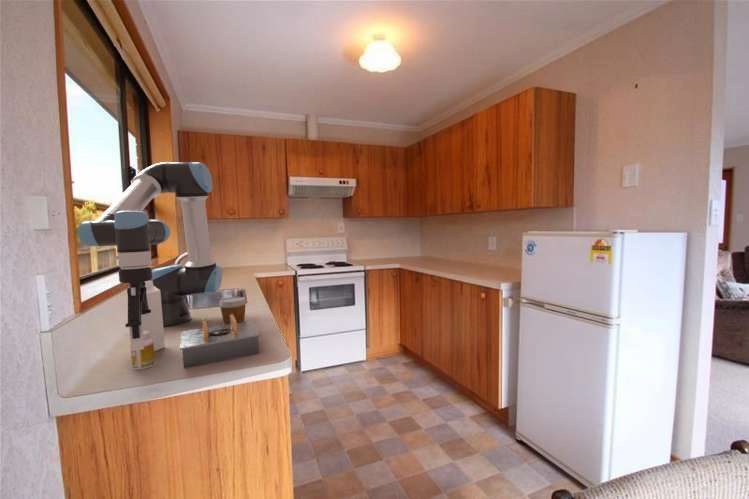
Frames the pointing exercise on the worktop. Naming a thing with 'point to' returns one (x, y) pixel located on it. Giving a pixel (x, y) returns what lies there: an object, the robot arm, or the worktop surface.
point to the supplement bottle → (144, 354)
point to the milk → (155, 315)
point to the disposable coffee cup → (233, 309)
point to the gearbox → (219, 342)
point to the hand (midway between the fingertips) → (141, 342)
